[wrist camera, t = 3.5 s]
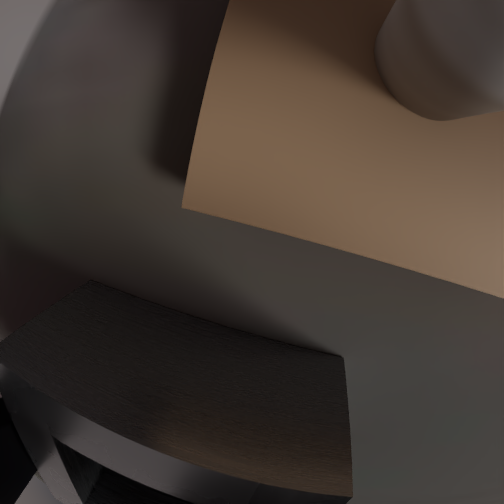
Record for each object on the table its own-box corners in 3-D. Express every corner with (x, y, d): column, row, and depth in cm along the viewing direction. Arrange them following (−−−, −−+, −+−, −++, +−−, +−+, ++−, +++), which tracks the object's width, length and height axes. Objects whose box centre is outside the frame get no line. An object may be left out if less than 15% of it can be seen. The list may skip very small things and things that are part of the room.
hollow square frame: (271, 488, 10) (253, 574, 6) (103, 431, 10) (55, 498, 7) (343, 357, 7) (353, 496, 4) (90, 279, 8) (-14, 352, 4)
